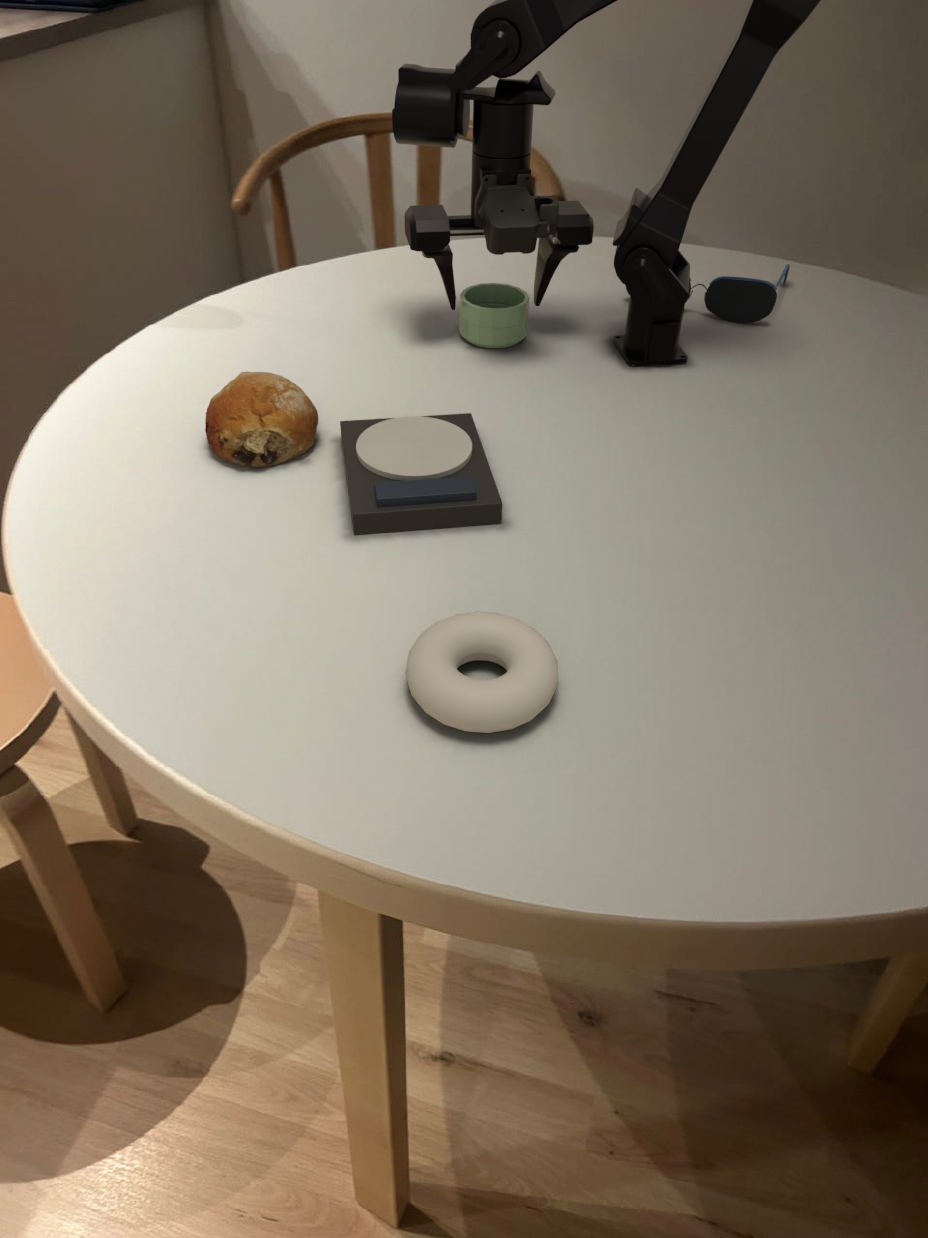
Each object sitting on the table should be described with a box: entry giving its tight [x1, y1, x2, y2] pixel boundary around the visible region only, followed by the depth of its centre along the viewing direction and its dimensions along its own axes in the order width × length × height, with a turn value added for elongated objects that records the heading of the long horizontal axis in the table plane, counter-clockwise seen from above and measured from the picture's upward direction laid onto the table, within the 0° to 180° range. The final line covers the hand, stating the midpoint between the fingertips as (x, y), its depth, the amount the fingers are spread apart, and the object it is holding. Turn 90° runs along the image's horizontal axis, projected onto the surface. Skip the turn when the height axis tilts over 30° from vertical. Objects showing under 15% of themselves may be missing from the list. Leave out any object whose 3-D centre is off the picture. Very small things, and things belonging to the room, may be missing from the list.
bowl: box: [458, 282, 530, 349], centre depth 104 cm, size 7×7×4 cm
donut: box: [404, 610, 559, 734], centre depth 62 cm, size 10×4×10 cm
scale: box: [339, 412, 503, 536], centre depth 82 cm, size 15×12×3 cm
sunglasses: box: [625, 263, 791, 324], centre depth 115 cm, size 17×15×5 cm
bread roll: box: [204, 371, 319, 468], centre depth 86 cm, size 10×10×8 cm
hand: (494, 306), depth 103 cm, fingers open, 9 cm apart
